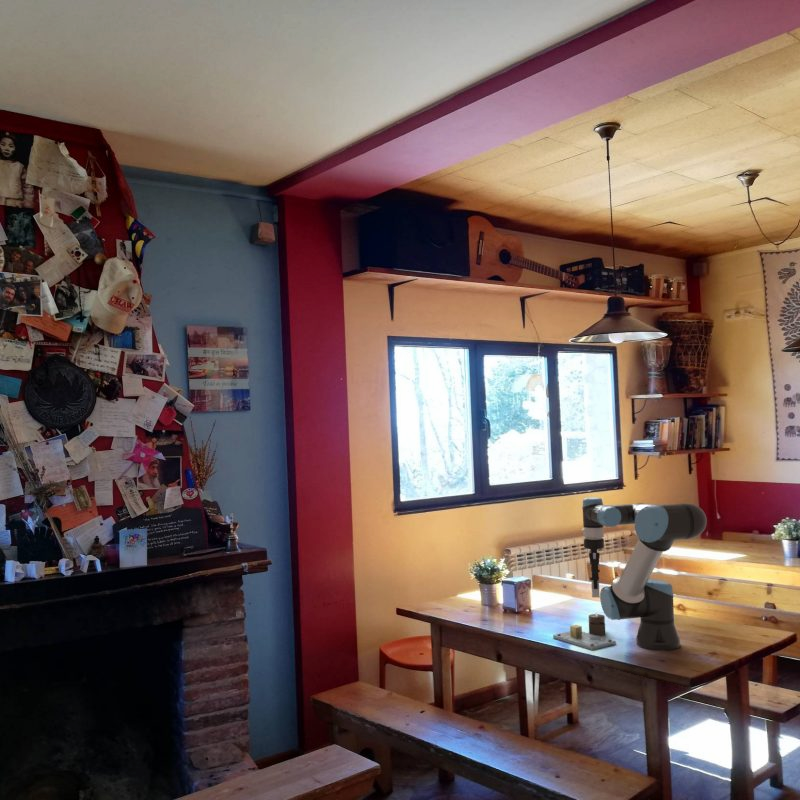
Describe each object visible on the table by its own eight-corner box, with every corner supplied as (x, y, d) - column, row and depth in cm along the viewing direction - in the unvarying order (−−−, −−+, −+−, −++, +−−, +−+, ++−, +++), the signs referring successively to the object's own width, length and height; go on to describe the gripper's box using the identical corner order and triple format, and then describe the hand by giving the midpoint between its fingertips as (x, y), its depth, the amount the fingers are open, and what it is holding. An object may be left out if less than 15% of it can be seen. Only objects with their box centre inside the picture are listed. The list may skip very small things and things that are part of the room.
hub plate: (615, 644, 288) (615, 631, 288) (591, 650, 282) (591, 637, 282) (576, 632, 305) (576, 620, 305) (552, 638, 299) (552, 625, 299)
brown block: (605, 631, 306) (604, 613, 307) (605, 635, 301) (604, 616, 301) (589, 630, 308) (588, 612, 308) (589, 634, 302) (588, 616, 302)
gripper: (583, 533, 318) (585, 586, 318) (583, 542, 294) (585, 600, 293) (602, 533, 317) (604, 586, 316) (604, 543, 292) (606, 600, 292)
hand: (595, 593), depth 305 cm, fingers open, 13 cm apart
